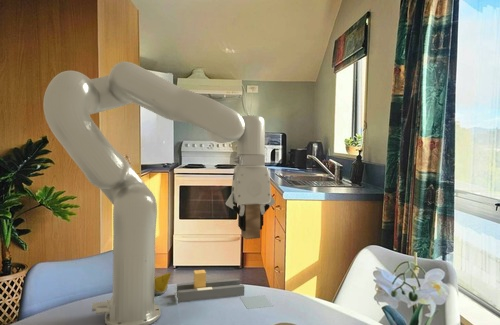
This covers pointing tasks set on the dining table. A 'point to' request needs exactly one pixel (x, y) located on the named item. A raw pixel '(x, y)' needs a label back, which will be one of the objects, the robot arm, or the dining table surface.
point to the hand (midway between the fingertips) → (250, 228)
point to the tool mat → (256, 302)
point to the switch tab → (199, 279)
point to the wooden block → (252, 221)
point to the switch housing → (210, 290)
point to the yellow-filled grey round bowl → (161, 283)
